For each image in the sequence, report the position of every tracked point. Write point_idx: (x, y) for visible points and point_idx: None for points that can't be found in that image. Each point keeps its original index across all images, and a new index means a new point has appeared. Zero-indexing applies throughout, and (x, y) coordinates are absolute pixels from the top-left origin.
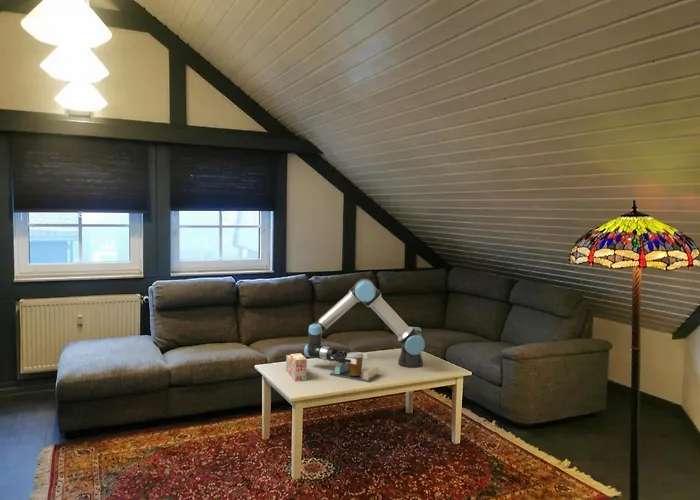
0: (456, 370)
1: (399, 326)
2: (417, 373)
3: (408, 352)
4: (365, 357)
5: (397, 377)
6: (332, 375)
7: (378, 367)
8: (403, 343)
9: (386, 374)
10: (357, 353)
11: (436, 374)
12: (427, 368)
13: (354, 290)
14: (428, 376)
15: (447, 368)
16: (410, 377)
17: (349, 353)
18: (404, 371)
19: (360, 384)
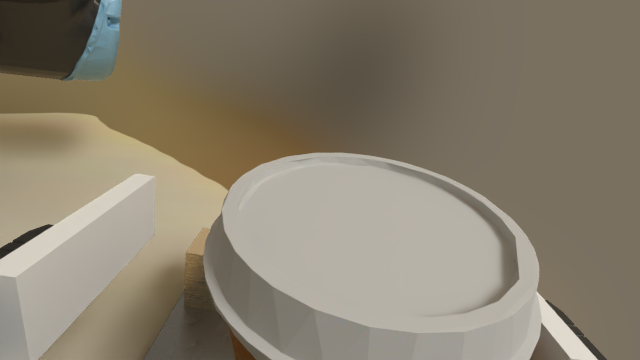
0: (58, 118)
1: None
2: (107, 171)
3: (107, 69)
4: (144, 230)
5: (202, 216)
6: None
7: (202, 229)
8: (72, 8)
9: (145, 256)
10: (317, 198)
11: (121, 144)
12: (4, 150)
13: None
14: (156, 156)
15: (20, 123)
16: (187, 187)
17: (374, 312)
18: (61, 199)
19: None
